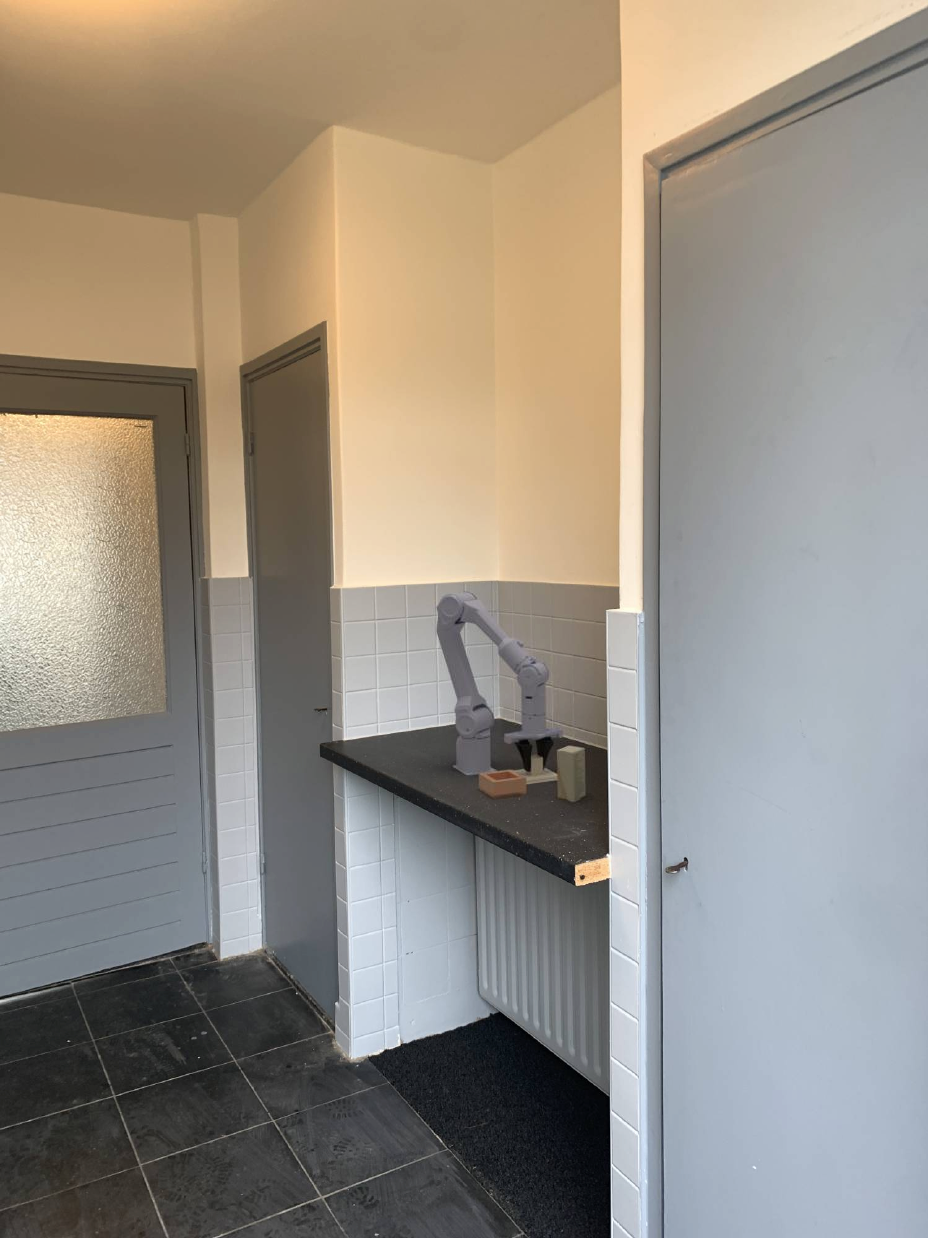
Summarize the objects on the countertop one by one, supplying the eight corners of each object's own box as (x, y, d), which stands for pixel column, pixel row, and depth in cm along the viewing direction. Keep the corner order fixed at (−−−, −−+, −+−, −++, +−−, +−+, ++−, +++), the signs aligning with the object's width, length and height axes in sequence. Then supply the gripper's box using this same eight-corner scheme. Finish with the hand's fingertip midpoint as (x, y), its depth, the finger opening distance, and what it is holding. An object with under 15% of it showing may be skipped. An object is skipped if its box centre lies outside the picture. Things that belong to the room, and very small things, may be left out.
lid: (509, 774, 216) (508, 754, 215) (542, 770, 219) (542, 750, 219) (525, 783, 208) (525, 763, 207) (560, 779, 211) (560, 758, 211)
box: (569, 793, 200) (569, 745, 199) (586, 797, 198) (586, 747, 197) (556, 799, 196) (556, 749, 195) (573, 803, 194) (572, 752, 192)
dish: (479, 791, 204) (478, 773, 203) (511, 786, 207) (510, 769, 206) (493, 800, 196) (493, 782, 196) (526, 795, 199) (526, 778, 199)
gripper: (513, 719, 206) (513, 777, 207) (569, 713, 211) (569, 770, 212) (500, 714, 212) (501, 770, 213) (554, 708, 218) (555, 763, 219)
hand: (534, 770), depth 213 cm, fingers closed on lid, 3 cm apart
